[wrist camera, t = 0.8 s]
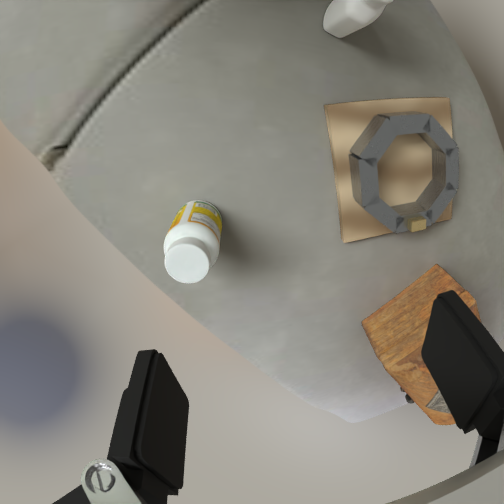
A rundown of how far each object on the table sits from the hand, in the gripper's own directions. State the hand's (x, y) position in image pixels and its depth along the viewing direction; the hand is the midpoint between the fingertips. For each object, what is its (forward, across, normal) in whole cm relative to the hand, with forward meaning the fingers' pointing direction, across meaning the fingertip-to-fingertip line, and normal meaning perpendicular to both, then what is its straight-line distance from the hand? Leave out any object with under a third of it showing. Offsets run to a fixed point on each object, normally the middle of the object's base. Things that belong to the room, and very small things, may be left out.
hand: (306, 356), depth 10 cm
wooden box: (+26, -25, +34) cm, 49 cm away
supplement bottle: (+26, +7, +5) cm, 27 cm away
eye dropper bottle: (+26, -12, -16) cm, 33 cm away
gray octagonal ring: (+25, -17, +2) cm, 30 cm away
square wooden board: (+26, -16, +2) cm, 31 cm away
